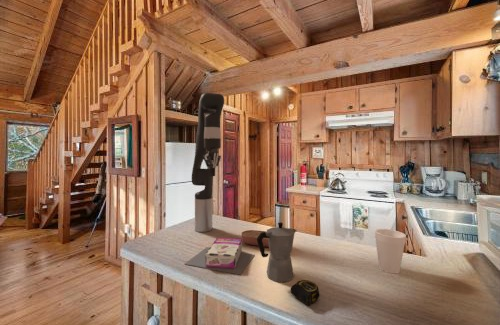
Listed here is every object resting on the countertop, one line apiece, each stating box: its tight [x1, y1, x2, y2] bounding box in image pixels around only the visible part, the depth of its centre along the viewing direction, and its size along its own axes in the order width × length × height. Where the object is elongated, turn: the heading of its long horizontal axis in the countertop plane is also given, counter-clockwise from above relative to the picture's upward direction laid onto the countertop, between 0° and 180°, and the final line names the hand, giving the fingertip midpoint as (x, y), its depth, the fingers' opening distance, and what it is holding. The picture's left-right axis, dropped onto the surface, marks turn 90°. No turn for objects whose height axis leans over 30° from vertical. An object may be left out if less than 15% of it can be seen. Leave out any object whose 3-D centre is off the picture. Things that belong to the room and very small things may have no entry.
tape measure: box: [290, 279, 320, 306], centre depth 65 cm, size 7×7×4 cm
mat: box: [184, 246, 255, 276], centre depth 88 cm, size 16×22×1 cm
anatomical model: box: [241, 229, 269, 248], centre depth 102 cm, size 23×10×5 cm, turn 67°
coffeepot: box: [257, 221, 297, 283], centre depth 76 cm, size 15×9×18 cm, turn 116°
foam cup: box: [374, 228, 407, 274], centre depth 81 cm, size 10×9×13 cm
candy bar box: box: [205, 237, 243, 268], centre depth 89 cm, size 11×5×16 cm
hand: (212, 176), depth 103 cm, fingers closed
